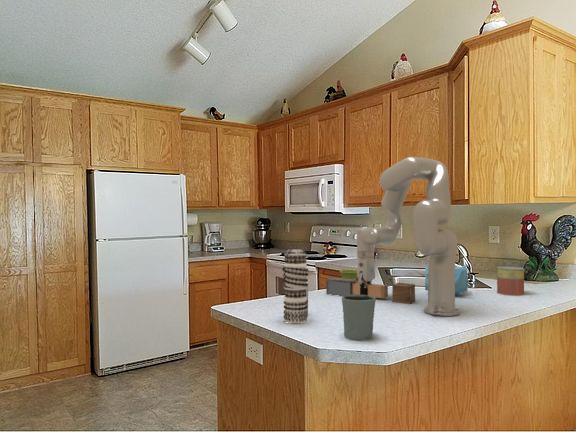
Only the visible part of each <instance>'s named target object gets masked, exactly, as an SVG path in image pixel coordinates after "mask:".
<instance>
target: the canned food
mask: <svg viewBox="0 0 576 432" xmlns="http://www.w3.org/2000/svg"><path fill="white" fill-rule="evenodd" d="M496 276H497V277H496V284H497V285H496V294H498V295H502V296H510V297H511V296H512V297H522V296H524V295H525V268H524V267H519V266H509V265H508V266H506V265H505V266H497V267H496Z"/></svg>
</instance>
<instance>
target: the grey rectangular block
mask: <svg viewBox="0 0 576 432" xmlns="http://www.w3.org/2000/svg"><path fill="white" fill-rule="evenodd" d="M357 281H358V278H356V279H347V278H342V277H335V276H334V277H332V276H331V277H329V278H326V284H325V285H326V291H325V293H326V294H332V295H331V296H333V295H339V296H338V297H342V296H345V295H351V283H352V282H357ZM357 283H358V282H357ZM326 294H325V295H326Z"/></svg>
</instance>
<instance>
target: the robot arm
mask: <svg viewBox="0 0 576 432" xmlns="http://www.w3.org/2000/svg"><path fill="white" fill-rule="evenodd" d="M413 180H421V181H427V184H426V186H425V199H423V200H420V201H419V202H418V203H416V204H415V206H414V208H413V211H412V222H413V223H412V225H413V236H414V237H413V238H414V245H415V247H416V249H417V252H418V253H419V254H422V255H424V256H429V259H428V263H427V264H428V265H427V267H428V291H427V292H428V293H427V297H428V298H427V301H428V303H427V305H428V306H425V307H424V308H423V312H424V313H426V314H429V315H433V316H437V317H438V316H440V317H453V316H458V315H460V310H459V309H458V308H456V296H455V267H456V255H457V250H458V239H457V236H456V234H455V233H454V232H453V231H452V230H450V229H447V228H438V226H443V225H446V224H448V223H449V222H450V220H451V219H452V206H451V204H452V203H451V194H450V175H449V170H448V168H447V166H446V165H445V164H444V163H443V162H442V161H439V160H436V159H433V158H427V157H421V156H420V157H419V156H409V157H406V158H404V159H402V160H400V161H399V162H397V163H395V164H393V165H391V166H390V167H388V168H386V169H385V170H384V171H383V172H381V175H380V178H379V186H380V188H381V189H382V190H385V191H384V195H383V197H382V200H381V202H380V205H381V206H382V208H383V209H385V210H386V211H387V213H388V219H387V222H386V224H385V226H380V227H366V226H365V227H358V228H357V230H356V259H357V269H356V270H357V277H356V279H357V281H358V282H357V283H359V285H360V295H367V288H366V286H367V283H368V284H373V280H375V278H376V269H375V268H376V266H375V246H379V245H388V244H392V243H394V242H395V240H396V239H397V237H398V236H399V233H400V231H401V228H402V222H403V217H402V212H401V210H402V207H403V204H404V202H405V200H406V197H407V195H408V193H409V190H410V188H411V185H412V182H413ZM364 283H365V284H364Z"/></svg>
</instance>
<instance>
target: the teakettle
mask: <svg viewBox="0 0 576 432" xmlns="http://www.w3.org/2000/svg"><path fill="white" fill-rule="evenodd" d="M468 266H469V265H466V264H465V265H462V266H455V297H462V294H461V293H468V288H469V287H468V268H467V267H468ZM424 273H425V274H424V275H425V276H424V283H425V284H424V286H425V287H424V288H425V289H424V290H425V291H427V292H428V263H426V266H425V267H424Z"/></svg>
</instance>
